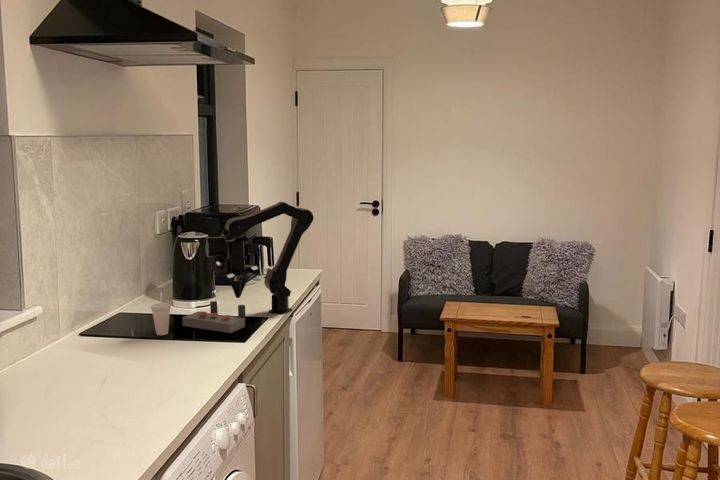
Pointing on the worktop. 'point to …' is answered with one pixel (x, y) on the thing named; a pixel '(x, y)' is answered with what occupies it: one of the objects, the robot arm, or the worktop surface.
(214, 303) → the peg
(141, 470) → the worktop surface
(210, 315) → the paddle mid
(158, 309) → the smoothie
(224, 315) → the paddle right
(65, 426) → the worktop surface
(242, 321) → the power strip
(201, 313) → the paddle left
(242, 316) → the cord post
